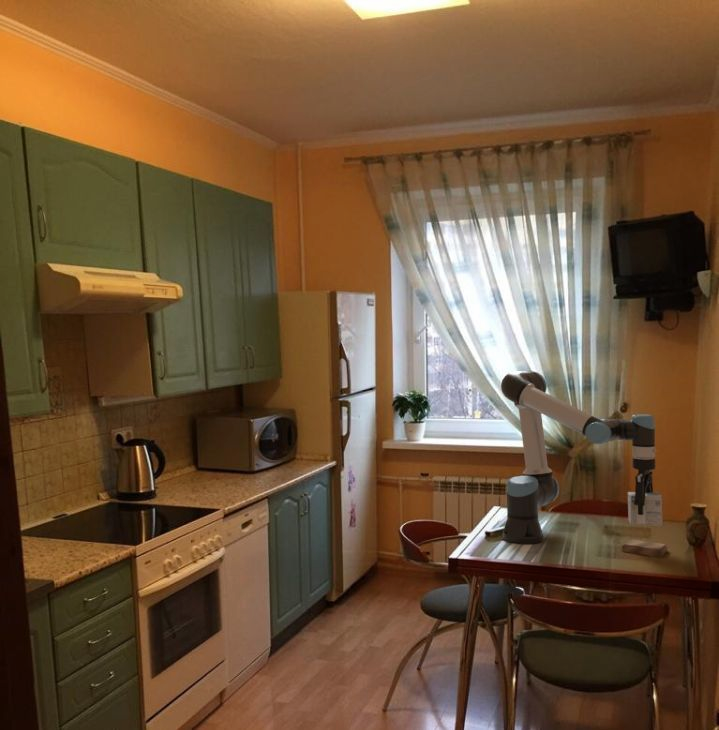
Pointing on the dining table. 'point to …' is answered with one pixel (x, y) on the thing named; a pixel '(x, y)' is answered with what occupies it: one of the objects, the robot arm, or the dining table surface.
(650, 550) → the brown flat tray
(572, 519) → the dining table surface
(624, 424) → the robot arm
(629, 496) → the light bulb box
